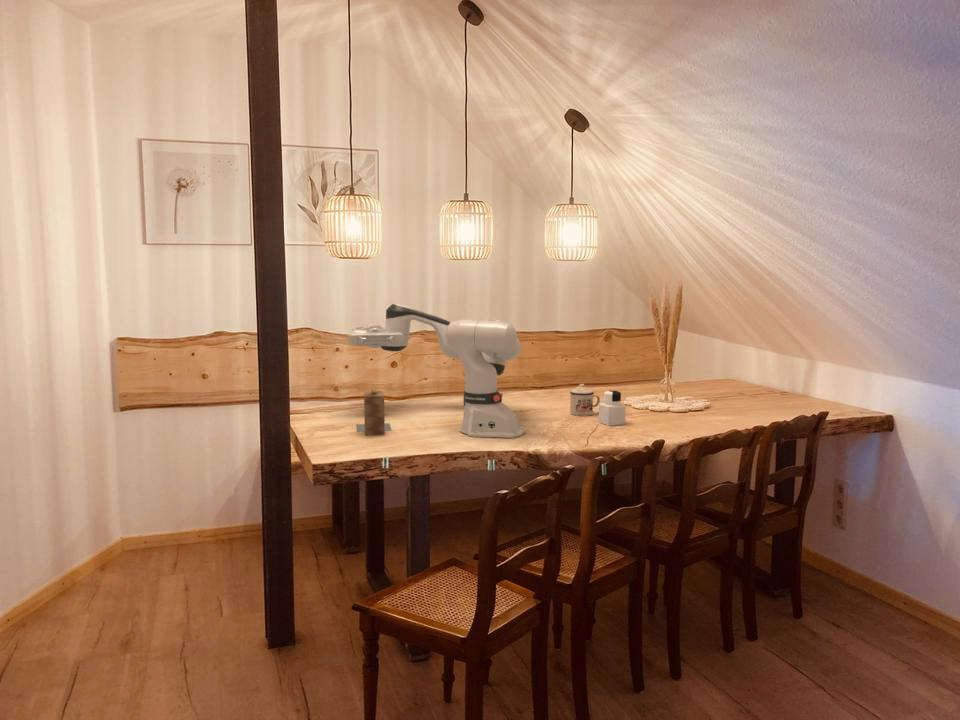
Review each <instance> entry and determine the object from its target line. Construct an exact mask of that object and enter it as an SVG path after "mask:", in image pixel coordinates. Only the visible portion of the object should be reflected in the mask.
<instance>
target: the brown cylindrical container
mask: <svg viewBox="0 0 960 720" xmlns="http://www.w3.org/2000/svg"><path fill="white" fill-rule="evenodd" d="M363 405H364V407H363V408H364V409H363V410H364V411H363V413H364V424H365V432H364V436H381V435H382V436H383V435H385V436H386V434H385V433H386V431H385V423H386V422H385V420H386V419H385V393H384V391H381V390H380V391H378V390H377V389H371V391H363Z"/></svg>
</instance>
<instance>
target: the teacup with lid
mask: <svg viewBox="0 0 960 720" xmlns="http://www.w3.org/2000/svg"><path fill="white" fill-rule="evenodd" d="M569 393H570V402H569V403H570V405H569V406H570V415H573V416H577V417H588V416H589V417H590V416H592V415H593V414H594V408H596V407H599V404H600V403H601V399H600V396H599V395H598V394H594V393H595V392H594V390H593V389H590V388H589V387H587V386H585V383H580V384H579V386H576V387H575V388H572V389H570V392H569ZM594 397H595V398H596V399H597V401H596V403H595V404H594Z"/></svg>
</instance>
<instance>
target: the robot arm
mask: <svg viewBox="0 0 960 720" xmlns="http://www.w3.org/2000/svg"><path fill="white" fill-rule="evenodd" d="M412 321H416V322H420V323H423V324H425V325H428V326H431V327H432V328H433V329H434V332H435V334H436V336H437V340H438V344H439V347H440V348H439V349H440V350H441V352H442V353H443V355H444V356H446V357H448V358H450V359H454V360H460V362H461V364H462V367H463V373H464V374H463V376H464V391H463V396H462V397H463V398H462V399H463V402H462V403H463V407H464V408H463V409H464V410H463V411H464V412H463V417H462V422H461V426H460V432H461V433H463V434H465V435H467V436H469V437H475V438H476V437H478V438H481V437H482V438H507V439H513V438H518V437H520V436H523V434H525V433H526V428H525V427H523V426H519V420H518V416H517V413H516V412H515V411H513V410H512V409H511V408H510V407H508V406H507V405H506V404H505V403H503V402H502V401H503V395H504V393H500V392H499V391H498V390H497V389H498V388H497V387H498V383H497V380H498V379H497V378H498V377H497V376H501V375H502V374H503V373H504V371H505V368H506V362H507V361H513V360H515V359H517V358H518V357H519V356H520V354H521V353H522V352H521V351H522V343H521V341H520V339H519V338H518V333H517V330H516V328H515V326H514V325H513V324H512V323H509V322H506V321H504V320H501V319H499V318H498V319H497V318H494V319H490V320H487V319H486V320H484V319H467V318H466V319H456V320H453V321H451V322H450V321H448V320H447V319H444V318H442V317H438V316H437V315H433V314H430V313H427V312H424V311H421V310H417V309H414V308H411V307H410V306H407V305H405V304H402V303H392V304H390V305H389V306H388V307H387V308H386V310H385V326H383V325H382V324H380V323H378V322H374V321H373V322H370V323H367V324H366V325H365V326H363V327H355V328H354V327H353V328H352V330H351V331H349V333H348V344H349V345H353V346H357V347H358V346H359V347H360V346H361V347H368V348H372V349H378V348H379V349H380V348H381V349H382V350H384V351H388V352H401V351H403V350H405V349H406V348H407V347H408V345H409V339H410V331H411V330H410V329H411V322H412Z"/></svg>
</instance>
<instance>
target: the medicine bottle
mask: <svg viewBox="0 0 960 720" xmlns="http://www.w3.org/2000/svg"><path fill="white" fill-rule="evenodd" d="M603 395H604V396H603V402H602V403H601V402H599V404H598V422H599V424H603V425H605V426H608V427H613V426H614V427H615V426H624V425H626V405H625V404H622V403H621V401H622V393H621V392H620V391H618V390H606V391H604V393H603Z"/></svg>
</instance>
